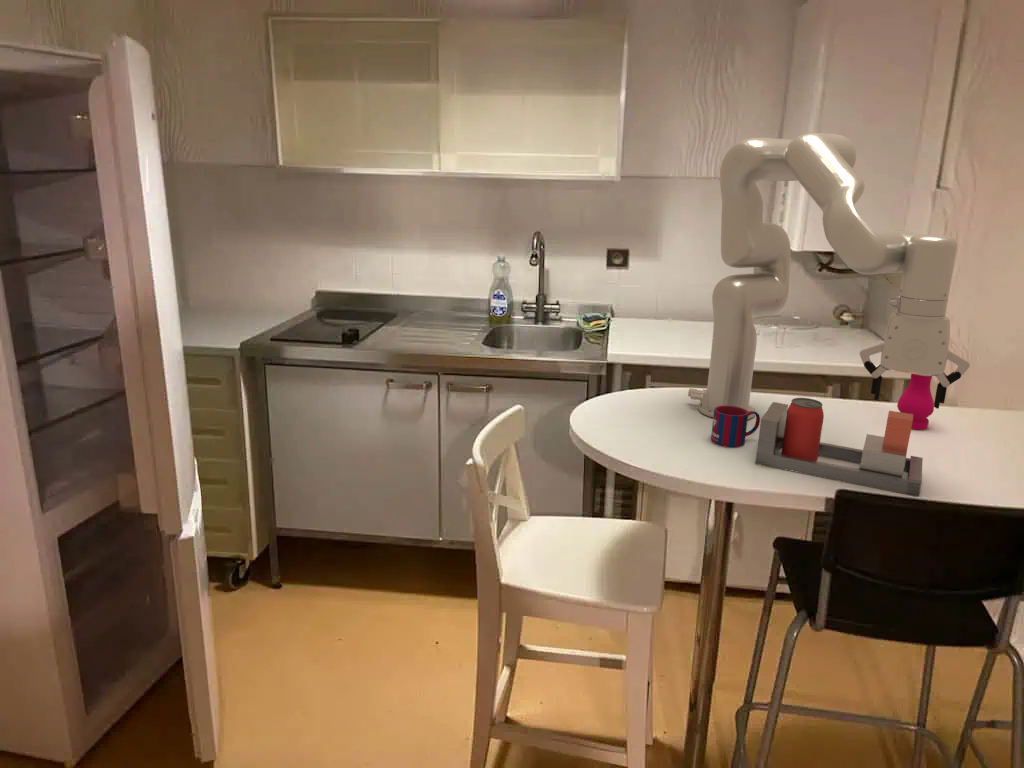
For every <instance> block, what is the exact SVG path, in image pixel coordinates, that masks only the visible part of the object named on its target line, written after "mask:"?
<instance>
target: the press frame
mask: <svg viewBox="0 0 1024 768" xmlns="http://www.w3.org/2000/svg"><path fill="white" fill-rule="evenodd" d="M788 408H789V404H786V403H781V402H775V401H772V402H771V404H770V405H769V407H768V408H767V410H766V411H765V413H764V415H763V416H762V417H761V418H760V423H759V431H758V439H757V447H756V455H755V462H754V463H756V464H755V465H759V464H761V465H760V466H764V465H765V466H764V467H769V466H770V468H774V467H775V469H779V468H780V470H784V469H787V470H786V471H789V470H793V471H792V472H794V471H798V472H797V473H799V472H802V473H801V474H804V473H807V474H806V475H809V474H811V475H810V476H814V475H816V476H815V477H819V476H820V477H819V478H824V477H826V478H825V479H829V478H830V480H833V479H835V481H838V480H840V481H839V482H843V481H845V483H848V482H849V484H853V485H858V486H864V487H868V488H873V489H879V490H883V491H889V492H894V493H899V494H905V495H909V496H913V497H919V496H920V491H921V487H922V482H923V459H924V457H920V456H915V455H910V458H908V457H906V461H905V466H904V471H903V473H907V477H906V478H904V477H902V478H900V477H895V476H889V475H884V474H879V473H874V472H869V471H864V470H860V469H858V468H852V467H847V466H844V465H843V466H842V465H837V464H833V463H832V464H831V463H827V462H821V461H818V460H817V461H812V460H807V459H802V458H796V457H791V456H786V455H781V453H780V452H781V451H782V445H783V438H784V431H785V423H786V416H787V410H788ZM862 453H863V449H859V448H854V447H849V446H843V445H838V444H837V445H836V444H833V443H828V442H827V443H826V442H822V441H820V444H819V450H818V457H824V458H828V459H829V458H831V459H834V460H835V459H836V460H839V461H846V462H850V463H856V464H860V465H861V459H862Z"/></svg>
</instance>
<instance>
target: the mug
mask: <svg viewBox="0 0 1024 768" xmlns="http://www.w3.org/2000/svg"><path fill="white" fill-rule="evenodd" d="M751 414H755V417H756V418H755V424H754V426H753V427H752V429H750V430H749V431H747V426H748V420H749V419H748V416H749V415H751ZM712 418H713V420H712V425H711V435H710V436H711V437H710V441H711V443H713V444H715V445H718V446H721V447H724V448H740V447H743V446H744V445H745V444H746V443H745V442H746V437H748V436H751V435H752V434H754V433H755V432H756V431H757V430H758V428H759V427H760V423H761V417H760V414H759V413H758V412H756V410H755V411H749V412H748V411H747V410H745V409H743V408H740V407H736V406H728V405H723V406H717V407H715V409H714V417H712Z"/></svg>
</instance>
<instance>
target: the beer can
mask: <svg viewBox="0 0 1024 768" xmlns="http://www.w3.org/2000/svg"><path fill="white" fill-rule="evenodd" d="M823 406H824V405H823V402H821V401H820V400H818V399H817V400H816V399H813V398H809V397H795V398H792V399H791V403H790V404H789V405H788V410H787V416H786V423H785V431H784V438H783V445H782V449H781V451H780V452H781V453H780V454H781V455H786V456H791V457H796V458H802V459H807V460H812V461H817V462H818V457H819V456H818V450H819V444H820V442H821V438H822V437H821V436H822V430H823V425H824V424H823V423H824V418H825V417H824V409H823Z"/></svg>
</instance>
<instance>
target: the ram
mask: <svg viewBox="0 0 1024 768" xmlns="http://www.w3.org/2000/svg"><path fill="white" fill-rule="evenodd" d="M912 422H913V414H908V413H901V412H900V411H893V410H888V414H887V421H886V425H885V431H884V436H881V435H876V434H870V433H866V437H865V440H864V445H863V448H862V450H863V453H862V459H861V464H860V466H859V470H864V471H869V472H874V473H879V474H884V475H889V476H895V477H900V478H903V475H904V472H903V471H904V466H905V461H906V458H907V451H908V446H909V443H910V437H911V431H912V429H911V427H912Z"/></svg>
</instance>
